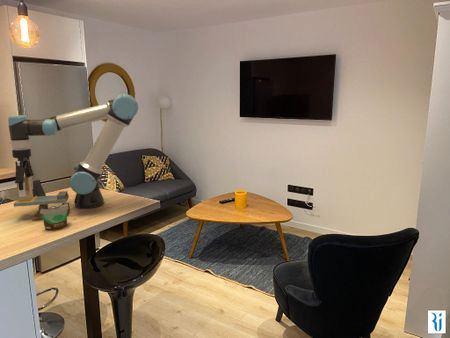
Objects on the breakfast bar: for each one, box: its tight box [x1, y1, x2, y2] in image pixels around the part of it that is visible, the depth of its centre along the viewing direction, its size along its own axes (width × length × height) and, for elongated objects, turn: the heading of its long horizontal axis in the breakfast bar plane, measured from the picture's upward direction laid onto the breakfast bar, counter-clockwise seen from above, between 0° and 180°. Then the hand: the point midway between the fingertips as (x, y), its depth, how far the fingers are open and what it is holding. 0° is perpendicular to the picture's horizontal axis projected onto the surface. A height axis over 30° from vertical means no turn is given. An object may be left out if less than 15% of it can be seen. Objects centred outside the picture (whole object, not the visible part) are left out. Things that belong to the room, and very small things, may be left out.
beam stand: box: [31, 202, 71, 222], centre depth 166 cm, size 15×13×6 cm
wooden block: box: [16, 175, 33, 202], centre depth 161 cm, size 5×5×11 cm
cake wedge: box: [40, 201, 69, 231], centre depth 149 cm, size 12×6×10 cm, turn 148°
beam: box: [13, 190, 70, 208], centre depth 164 cm, size 22×10×4 cm, turn 107°
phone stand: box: [32, 179, 47, 197], centre depth 188 cm, size 9×6×12 cm, turn 88°
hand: (26, 192), depth 161 cm, fingers open, 13 cm apart
